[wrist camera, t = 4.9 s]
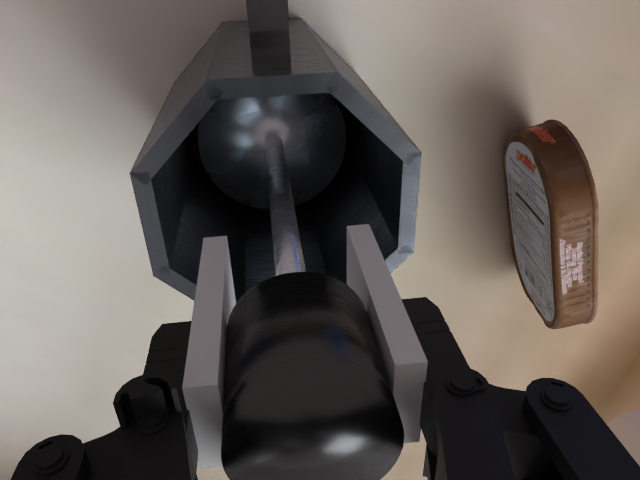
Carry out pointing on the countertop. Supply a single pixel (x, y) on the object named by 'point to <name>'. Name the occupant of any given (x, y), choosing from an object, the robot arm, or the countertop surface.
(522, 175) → the tin
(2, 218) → the countertop surface
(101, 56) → the countertop surface
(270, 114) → the plunger
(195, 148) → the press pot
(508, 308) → the countertop surface
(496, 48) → the countertop surface
